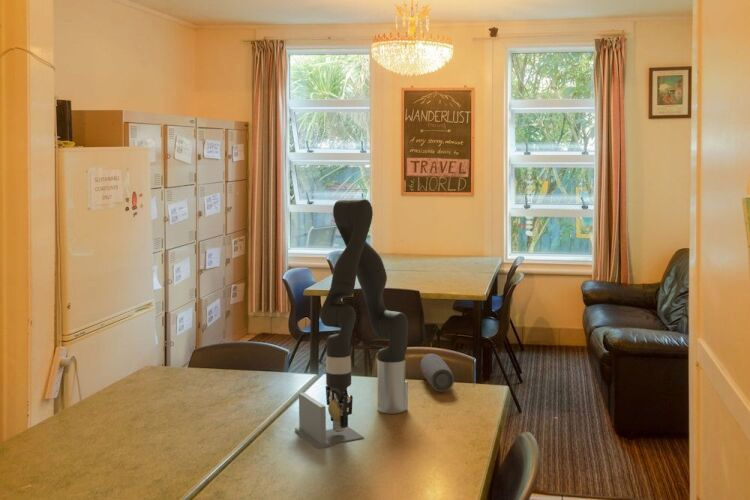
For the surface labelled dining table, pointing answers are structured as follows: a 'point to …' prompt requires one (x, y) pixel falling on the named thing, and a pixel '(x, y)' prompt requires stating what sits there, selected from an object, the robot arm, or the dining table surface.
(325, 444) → the screen
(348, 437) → the mat
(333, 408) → the yellow light bulb
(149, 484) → the dining table surface
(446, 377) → the bluetooth speaker
